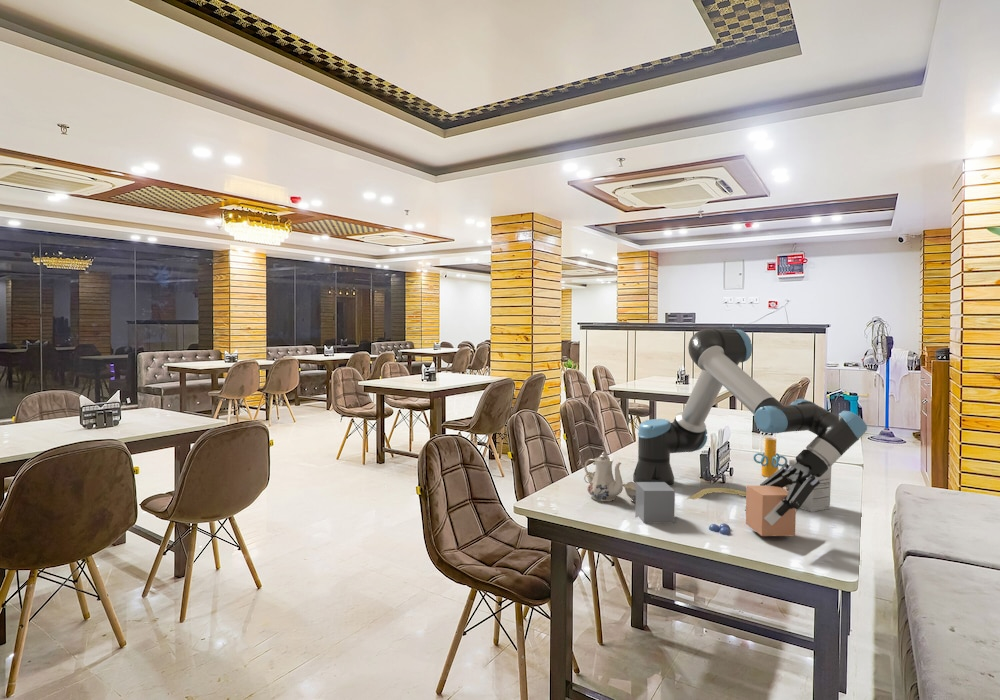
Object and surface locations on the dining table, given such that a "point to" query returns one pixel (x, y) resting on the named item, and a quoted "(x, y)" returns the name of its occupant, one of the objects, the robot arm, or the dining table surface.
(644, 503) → the gray block
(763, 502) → the orange rectangular block
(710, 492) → the gold curved band
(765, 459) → the cylinder
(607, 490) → the chinaware
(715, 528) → the marble
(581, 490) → the dining table surface
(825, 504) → the supplement box
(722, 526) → the marble
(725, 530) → the marble
